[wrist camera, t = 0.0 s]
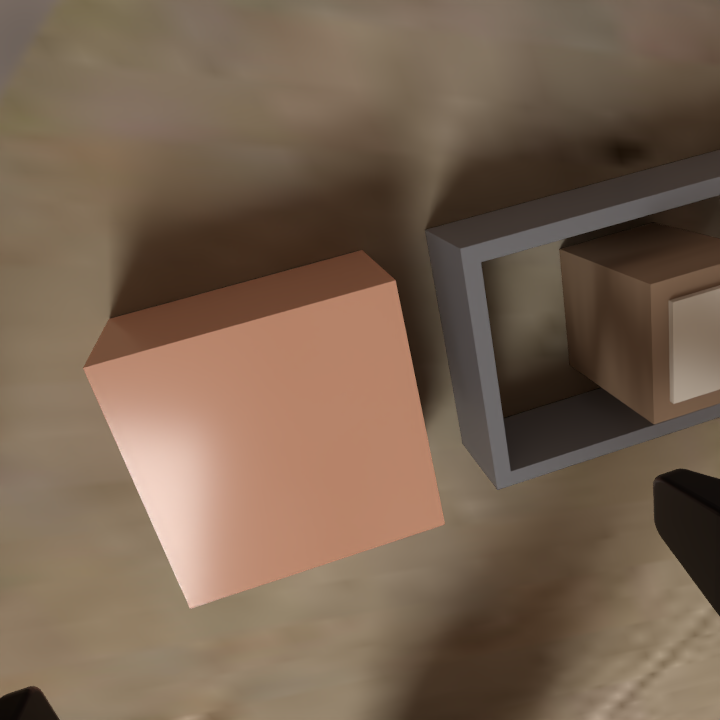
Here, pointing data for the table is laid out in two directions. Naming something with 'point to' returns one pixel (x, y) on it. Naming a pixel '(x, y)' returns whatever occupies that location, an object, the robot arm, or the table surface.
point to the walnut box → (646, 317)
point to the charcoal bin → (473, 334)
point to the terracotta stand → (270, 423)
